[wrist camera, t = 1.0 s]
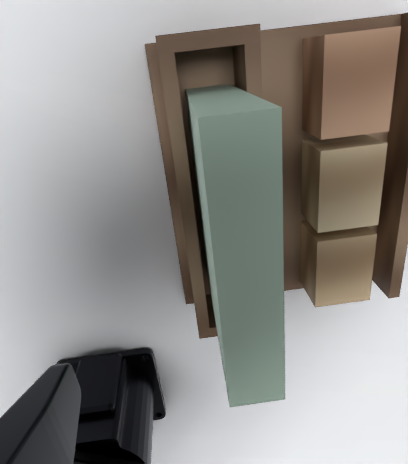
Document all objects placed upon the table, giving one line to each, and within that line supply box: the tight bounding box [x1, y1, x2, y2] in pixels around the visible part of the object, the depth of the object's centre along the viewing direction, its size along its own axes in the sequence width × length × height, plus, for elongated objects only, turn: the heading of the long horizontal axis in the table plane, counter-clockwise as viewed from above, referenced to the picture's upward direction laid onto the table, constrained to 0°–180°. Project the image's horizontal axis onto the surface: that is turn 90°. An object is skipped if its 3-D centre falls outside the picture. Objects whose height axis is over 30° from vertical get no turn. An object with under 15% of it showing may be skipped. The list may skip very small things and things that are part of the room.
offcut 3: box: [300, 221, 377, 307], centre depth 20 cm, size 4×3×2 cm
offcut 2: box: [301, 134, 388, 233], centre depth 18 cm, size 4×3×2 cm
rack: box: [145, 13, 408, 339], centre depth 18 cm, size 14×12×4 cm
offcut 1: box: [302, 26, 401, 140], centre depth 16 cm, size 4×3×2 cm
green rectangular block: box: [185, 84, 285, 407], centre depth 15 cm, size 10×2×9 cm, turn 6°
